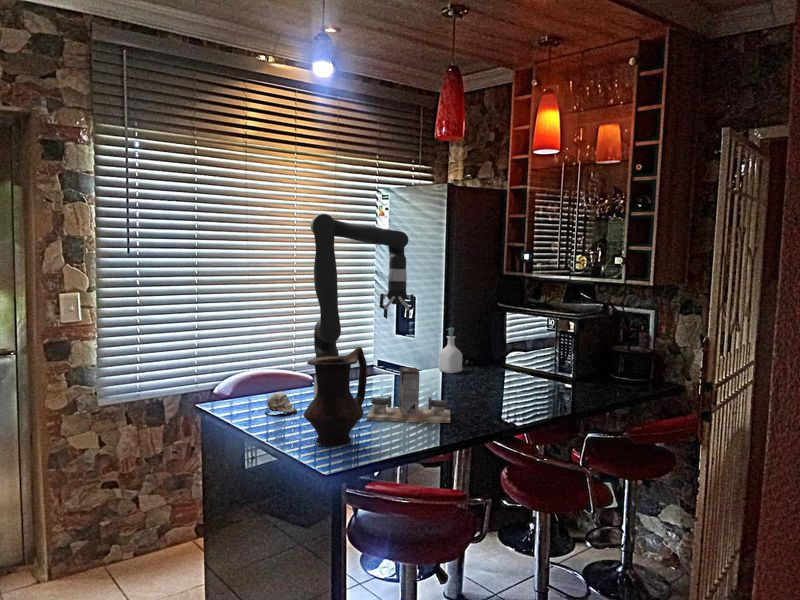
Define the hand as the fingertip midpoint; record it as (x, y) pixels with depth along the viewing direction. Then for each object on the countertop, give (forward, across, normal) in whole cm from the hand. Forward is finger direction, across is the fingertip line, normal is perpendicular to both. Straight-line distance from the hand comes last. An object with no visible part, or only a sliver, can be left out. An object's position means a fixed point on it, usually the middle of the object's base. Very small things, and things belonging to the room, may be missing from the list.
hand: (396, 319), depth 256 cm
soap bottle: (+33, +23, +60) cm, 73 cm away
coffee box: (+32, +8, -30) cm, 44 cm away
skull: (+34, -40, -30) cm, 61 cm away
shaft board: (+33, +8, -30) cm, 45 cm away
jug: (+33, -13, -64) cm, 73 cm away
